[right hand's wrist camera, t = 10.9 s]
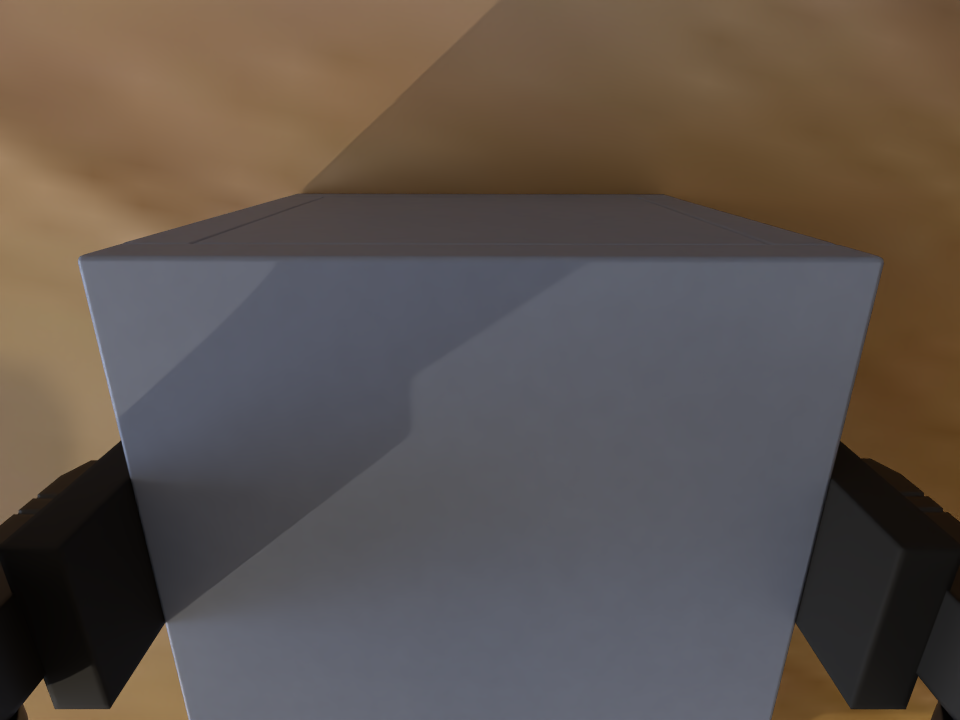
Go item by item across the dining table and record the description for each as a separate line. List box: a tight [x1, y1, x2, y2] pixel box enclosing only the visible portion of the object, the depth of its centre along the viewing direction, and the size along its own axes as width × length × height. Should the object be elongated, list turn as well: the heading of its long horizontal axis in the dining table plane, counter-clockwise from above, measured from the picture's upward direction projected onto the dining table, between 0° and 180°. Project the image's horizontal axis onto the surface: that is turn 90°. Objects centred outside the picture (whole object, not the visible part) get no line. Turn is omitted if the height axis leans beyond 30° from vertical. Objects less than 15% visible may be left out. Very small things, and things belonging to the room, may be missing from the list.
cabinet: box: [78, 194, 884, 720], centre depth 15 cm, size 18×10×9 cm, turn 0°
